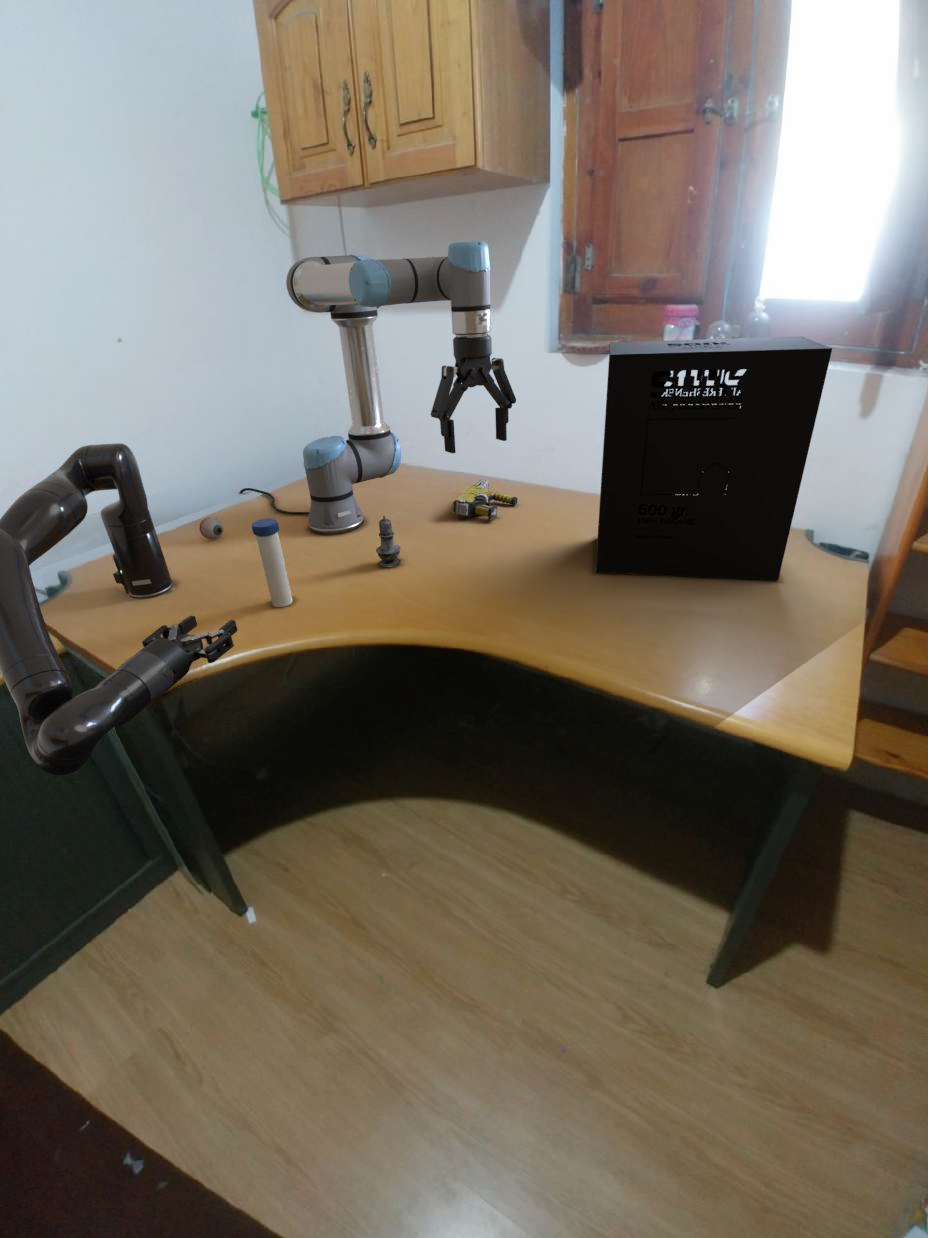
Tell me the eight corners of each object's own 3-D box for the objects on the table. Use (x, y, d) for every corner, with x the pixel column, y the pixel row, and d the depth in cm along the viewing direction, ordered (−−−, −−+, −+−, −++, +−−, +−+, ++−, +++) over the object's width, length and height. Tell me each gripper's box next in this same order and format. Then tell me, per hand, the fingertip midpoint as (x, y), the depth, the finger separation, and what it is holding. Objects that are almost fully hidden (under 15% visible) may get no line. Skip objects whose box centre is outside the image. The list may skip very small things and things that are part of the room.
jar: (276, 597, 133) (258, 520, 124) (295, 597, 132) (278, 520, 123) (269, 607, 129) (250, 528, 120) (288, 607, 128) (270, 528, 119)
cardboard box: (758, 542, 144) (801, 336, 122) (778, 580, 127) (832, 348, 105) (597, 537, 152) (610, 342, 129) (595, 572, 135) (610, 354, 112)
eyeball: (213, 544, 161) (207, 523, 158) (198, 540, 164) (191, 520, 161) (231, 536, 165) (225, 516, 162) (216, 533, 168) (210, 512, 165)
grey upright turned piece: (398, 568, 142) (392, 520, 136) (374, 567, 143) (367, 519, 137) (405, 558, 147) (399, 511, 141) (382, 557, 148) (376, 510, 142)
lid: (259, 527, 125) (257, 518, 124) (283, 526, 124) (281, 517, 123) (249, 536, 120) (246, 527, 119) (273, 536, 120) (271, 527, 119)
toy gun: (525, 484, 182) (478, 477, 186) (503, 508, 162) (451, 499, 166) (524, 500, 184) (477, 492, 188) (502, 525, 164) (450, 516, 168)
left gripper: (123, 686, 100) (187, 635, 113) (195, 697, 96) (253, 643, 109) (107, 647, 96) (175, 600, 109) (182, 657, 92) (243, 607, 106)
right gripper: (429, 342, 108) (437, 460, 118) (533, 329, 120) (532, 437, 131) (407, 340, 113) (417, 454, 124) (508, 328, 125) (510, 432, 136)
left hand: (214, 622), depth 109 cm, fingers open, 8 cm apart
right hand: (476, 445), depth 127 cm, fingers open, 13 cm apart
